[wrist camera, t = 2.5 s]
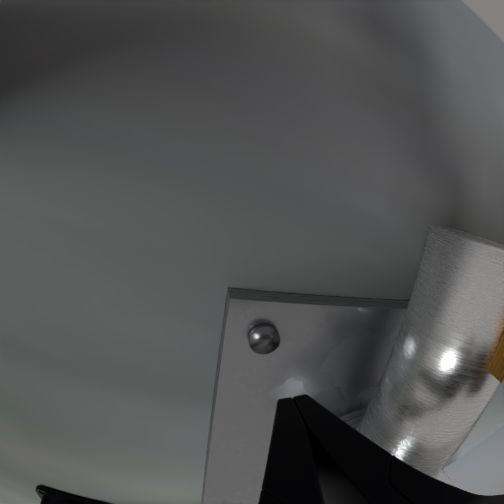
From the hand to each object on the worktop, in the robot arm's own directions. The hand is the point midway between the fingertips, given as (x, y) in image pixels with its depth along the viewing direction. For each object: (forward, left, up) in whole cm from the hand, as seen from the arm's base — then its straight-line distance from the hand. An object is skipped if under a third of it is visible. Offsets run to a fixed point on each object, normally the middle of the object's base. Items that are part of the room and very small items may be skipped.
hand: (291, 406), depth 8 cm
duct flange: (+6, -8, -5) cm, 11 cm away
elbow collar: (+6, -3, -4) cm, 8 cm away
